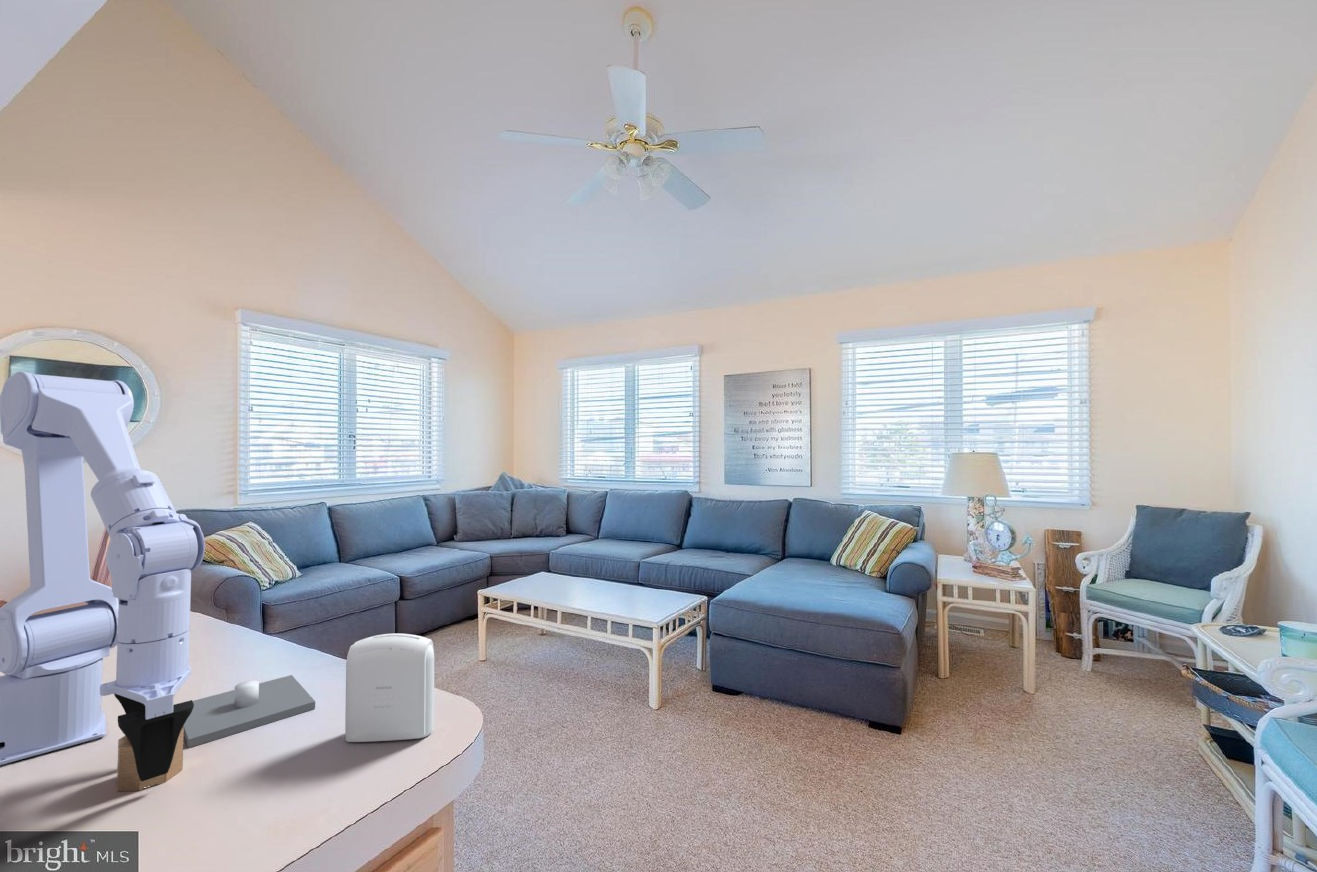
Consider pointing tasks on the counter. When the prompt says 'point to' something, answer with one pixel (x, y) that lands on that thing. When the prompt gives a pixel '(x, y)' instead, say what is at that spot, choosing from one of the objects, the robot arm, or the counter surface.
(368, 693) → the photo printer
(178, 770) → the octagonal cardboard bin
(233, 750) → the counter surface
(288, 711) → the plate
